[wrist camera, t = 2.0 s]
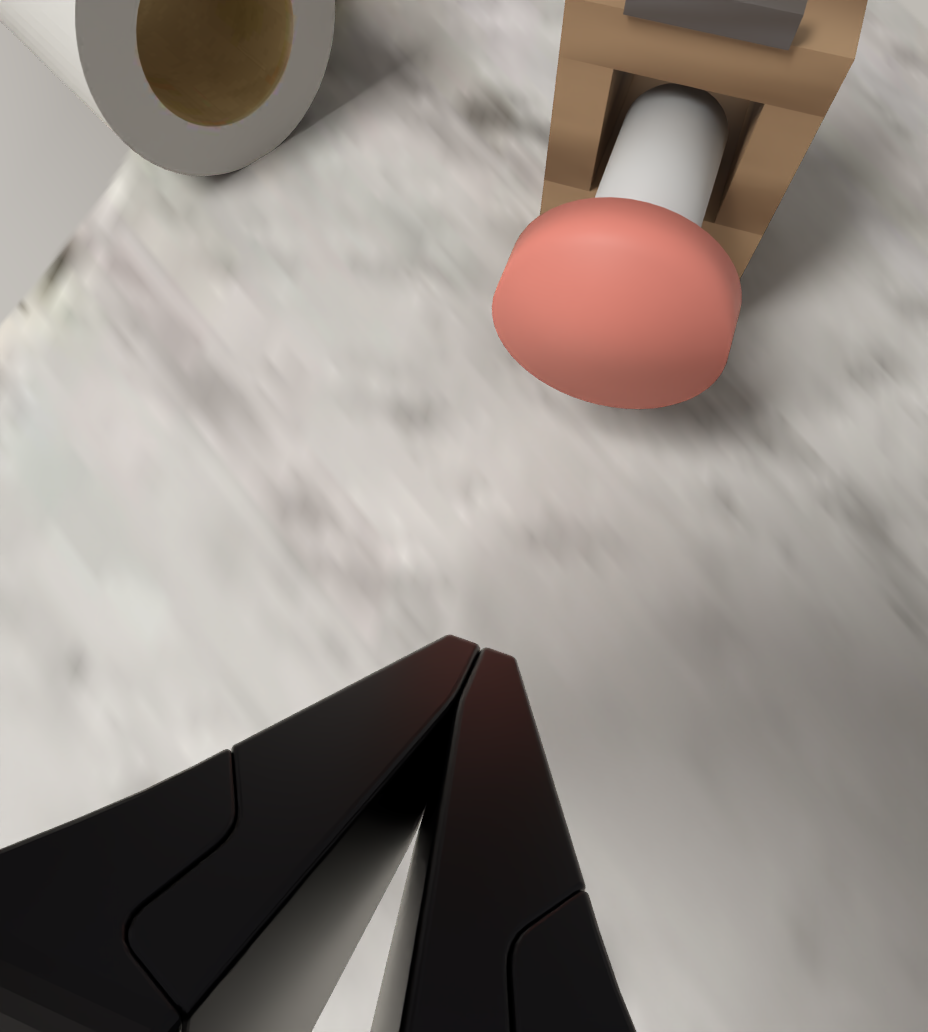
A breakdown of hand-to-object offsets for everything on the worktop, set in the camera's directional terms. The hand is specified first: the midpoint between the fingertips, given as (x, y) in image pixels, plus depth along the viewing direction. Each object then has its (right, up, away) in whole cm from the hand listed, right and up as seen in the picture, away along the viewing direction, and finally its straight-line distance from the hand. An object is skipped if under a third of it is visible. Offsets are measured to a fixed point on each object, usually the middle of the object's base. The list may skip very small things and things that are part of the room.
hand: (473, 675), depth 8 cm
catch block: (+7, +12, +19) cm, 23 cm away
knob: (+5, +9, +13) cm, 17 cm away
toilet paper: (-12, +20, +22) cm, 32 cm away
